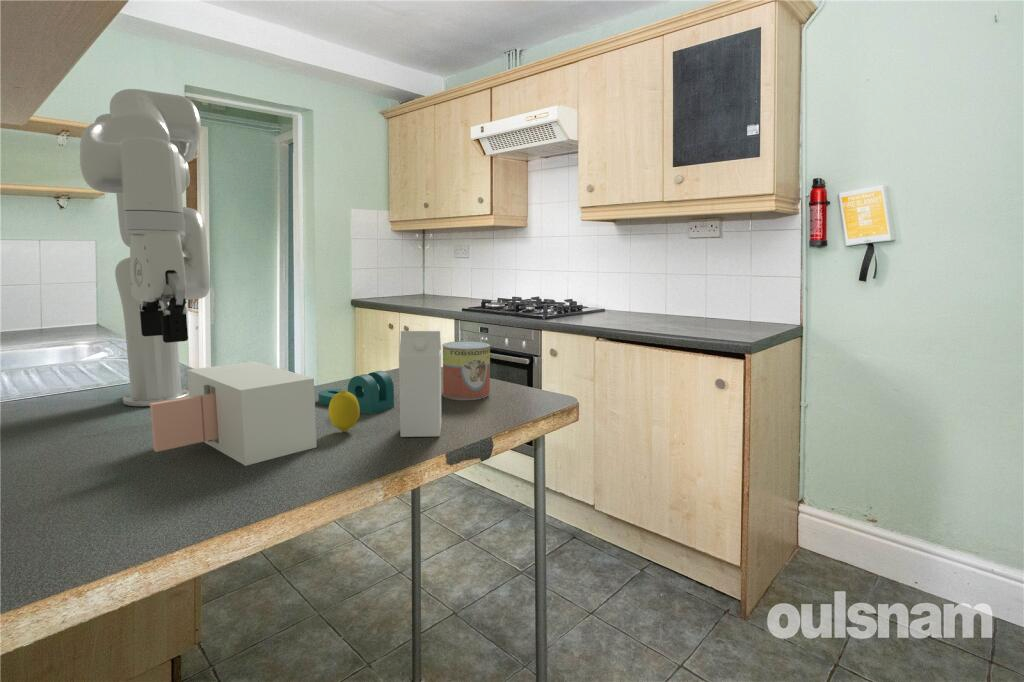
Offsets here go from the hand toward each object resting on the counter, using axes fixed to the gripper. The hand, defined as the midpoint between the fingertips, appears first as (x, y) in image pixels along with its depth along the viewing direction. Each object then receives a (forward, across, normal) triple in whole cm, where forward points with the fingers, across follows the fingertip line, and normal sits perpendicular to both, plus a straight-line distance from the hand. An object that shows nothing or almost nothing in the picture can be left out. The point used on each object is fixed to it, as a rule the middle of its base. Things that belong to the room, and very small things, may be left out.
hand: (164, 338), depth 87 cm
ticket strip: (+17, 0, +7) cm, 19 cm away
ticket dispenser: (+19, 0, +13) cm, 23 cm away
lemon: (+20, +7, +27) cm, 34 cm away
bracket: (+20, -9, +38) cm, 44 cm away
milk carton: (+20, +17, +37) cm, 45 cm away
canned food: (+20, +2, +63) cm, 66 cm away
